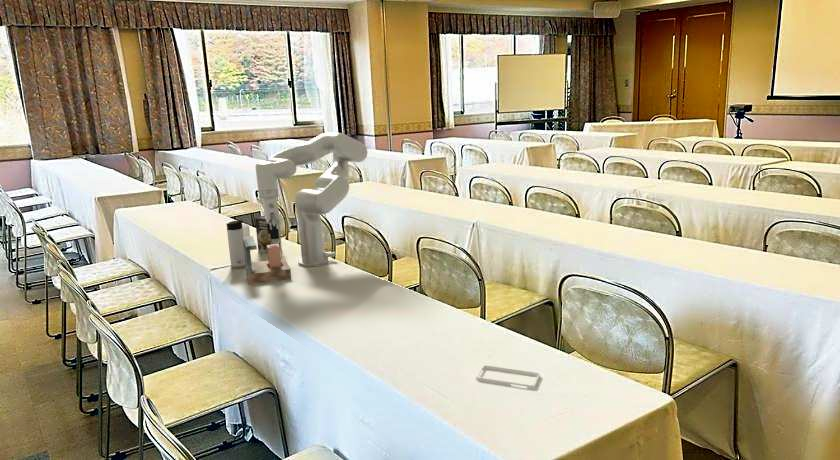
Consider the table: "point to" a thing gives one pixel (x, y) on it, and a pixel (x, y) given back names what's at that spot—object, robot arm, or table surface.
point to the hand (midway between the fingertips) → (273, 235)
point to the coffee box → (265, 235)
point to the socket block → (262, 266)
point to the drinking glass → (246, 230)
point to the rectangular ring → (507, 381)
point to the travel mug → (236, 244)
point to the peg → (274, 255)
